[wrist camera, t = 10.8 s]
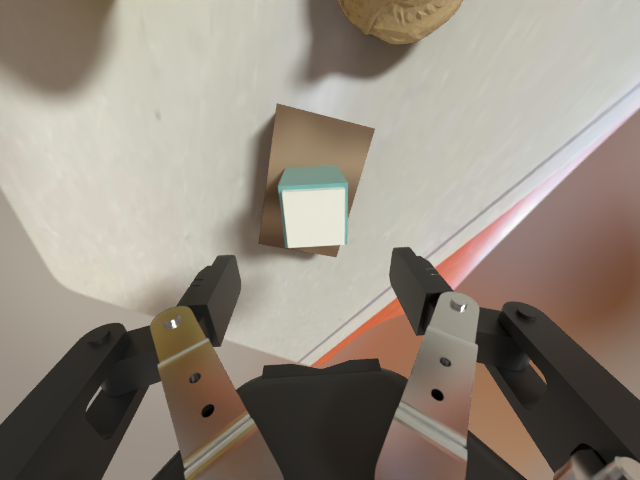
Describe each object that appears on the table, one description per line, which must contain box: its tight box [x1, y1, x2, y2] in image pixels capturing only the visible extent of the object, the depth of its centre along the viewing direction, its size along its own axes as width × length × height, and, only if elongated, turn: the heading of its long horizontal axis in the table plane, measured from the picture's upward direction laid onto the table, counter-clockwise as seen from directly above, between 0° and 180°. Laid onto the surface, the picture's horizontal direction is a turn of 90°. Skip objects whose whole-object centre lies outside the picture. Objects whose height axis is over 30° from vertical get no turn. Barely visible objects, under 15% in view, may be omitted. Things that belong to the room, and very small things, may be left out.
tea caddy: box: [278, 165, 348, 248], centre depth 21 cm, size 5×5×8 cm
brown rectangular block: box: [259, 104, 375, 257], centre depth 27 cm, size 14×9×5 cm, turn 167°
